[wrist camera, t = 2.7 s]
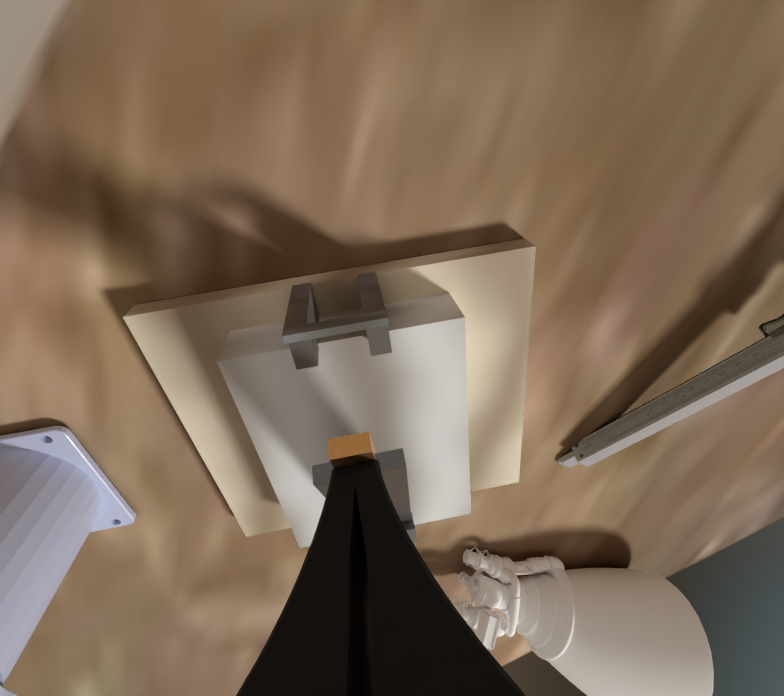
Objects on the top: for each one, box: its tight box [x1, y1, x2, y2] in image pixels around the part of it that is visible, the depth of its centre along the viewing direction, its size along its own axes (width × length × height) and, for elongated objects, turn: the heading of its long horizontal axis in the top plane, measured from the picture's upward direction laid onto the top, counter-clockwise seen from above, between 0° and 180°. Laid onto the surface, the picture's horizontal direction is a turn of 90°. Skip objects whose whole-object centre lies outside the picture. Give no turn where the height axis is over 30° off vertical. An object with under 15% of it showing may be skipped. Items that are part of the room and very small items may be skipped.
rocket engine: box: [448, 546, 714, 696], centre depth 32 cm, size 12×12×18 cm
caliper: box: [557, 314, 784, 468], centre depth 22 cm, size 20×1×6 cm, turn 140°
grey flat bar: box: [312, 431, 411, 522], centre depth 16 cm, size 3×13×1 cm, turn 7°
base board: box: [123, 239, 536, 548], centre depth 20 cm, size 18×16×6 cm
